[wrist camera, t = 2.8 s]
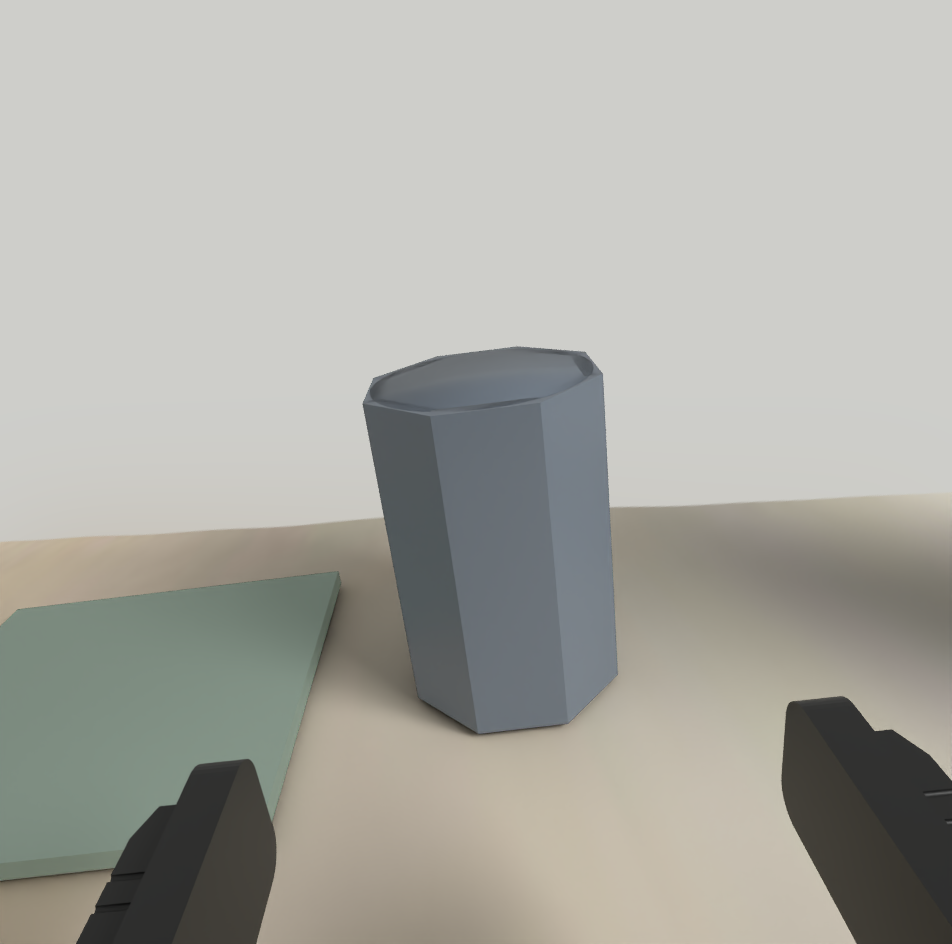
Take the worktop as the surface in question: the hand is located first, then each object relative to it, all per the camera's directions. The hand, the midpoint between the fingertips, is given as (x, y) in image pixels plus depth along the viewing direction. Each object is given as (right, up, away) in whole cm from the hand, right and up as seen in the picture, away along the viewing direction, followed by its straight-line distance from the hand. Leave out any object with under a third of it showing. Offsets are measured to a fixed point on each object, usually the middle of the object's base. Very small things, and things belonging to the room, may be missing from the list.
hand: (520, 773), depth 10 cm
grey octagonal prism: (+1, -2, +13) cm, 13 cm away
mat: (-13, -4, +13) cm, 19 cm away
